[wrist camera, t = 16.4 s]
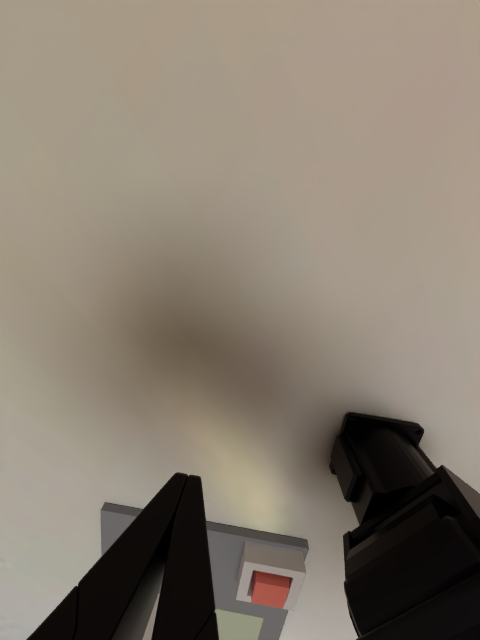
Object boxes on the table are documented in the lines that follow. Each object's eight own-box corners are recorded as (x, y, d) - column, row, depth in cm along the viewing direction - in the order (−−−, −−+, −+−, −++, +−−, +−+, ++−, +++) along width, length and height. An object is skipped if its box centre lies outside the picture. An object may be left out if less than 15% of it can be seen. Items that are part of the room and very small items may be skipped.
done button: (287, 563, 26) (289, 588, 24) (281, 582, 27) (282, 608, 25) (256, 557, 26) (256, 582, 24) (251, 577, 27) (251, 602, 25)
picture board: (307, 539, 26) (312, 570, 24) (272, 646, 32) (273, 680, 30) (105, 502, 27) (89, 528, 24) (107, 614, 33) (94, 644, 30)
